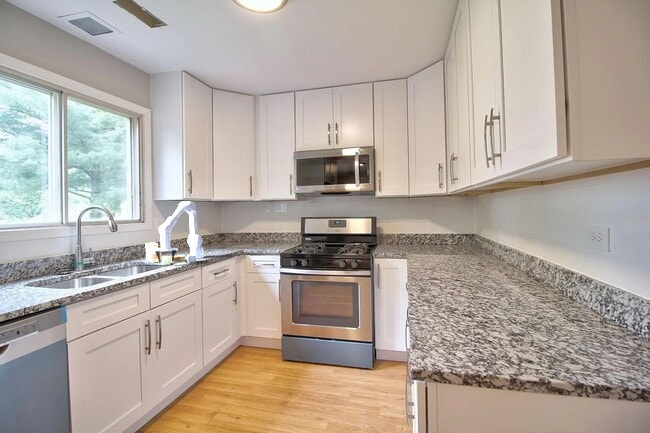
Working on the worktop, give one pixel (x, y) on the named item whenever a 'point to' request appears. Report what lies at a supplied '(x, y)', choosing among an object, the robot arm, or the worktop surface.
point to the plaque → (181, 264)
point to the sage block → (166, 260)
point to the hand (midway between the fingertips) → (166, 262)
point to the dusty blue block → (191, 258)
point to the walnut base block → (178, 258)
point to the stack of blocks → (152, 252)
